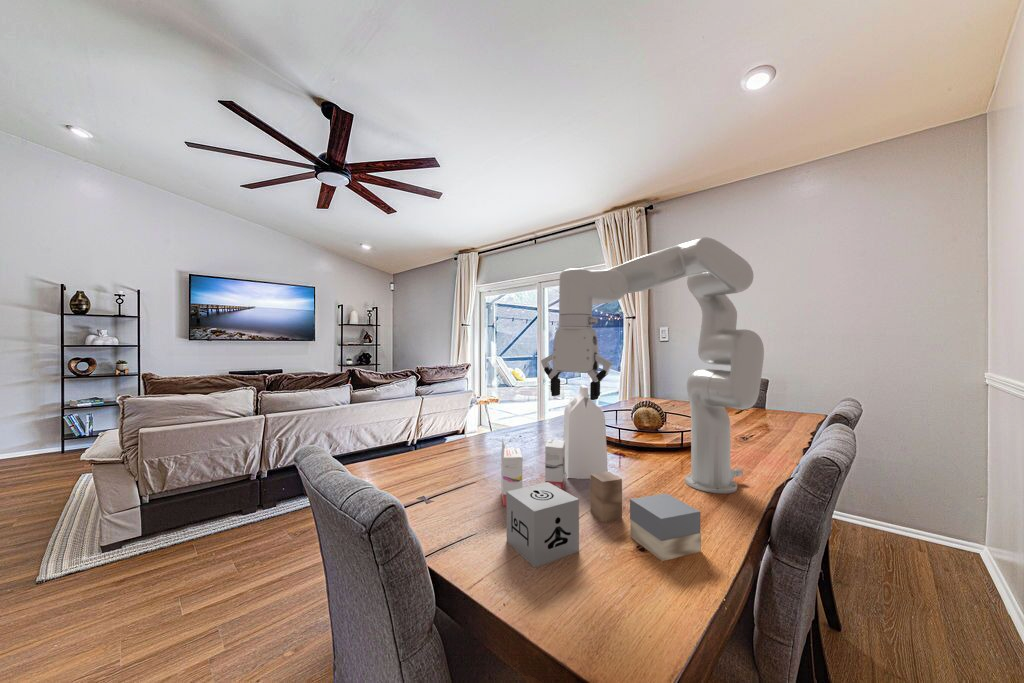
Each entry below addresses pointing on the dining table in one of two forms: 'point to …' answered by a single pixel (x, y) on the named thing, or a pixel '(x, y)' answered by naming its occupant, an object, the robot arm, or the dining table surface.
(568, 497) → the icon cube
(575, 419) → the milk
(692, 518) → the tower top
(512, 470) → the ink cartridge box
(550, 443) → the ink box
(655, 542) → the tower base
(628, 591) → the dining table surface
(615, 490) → the walnut block
